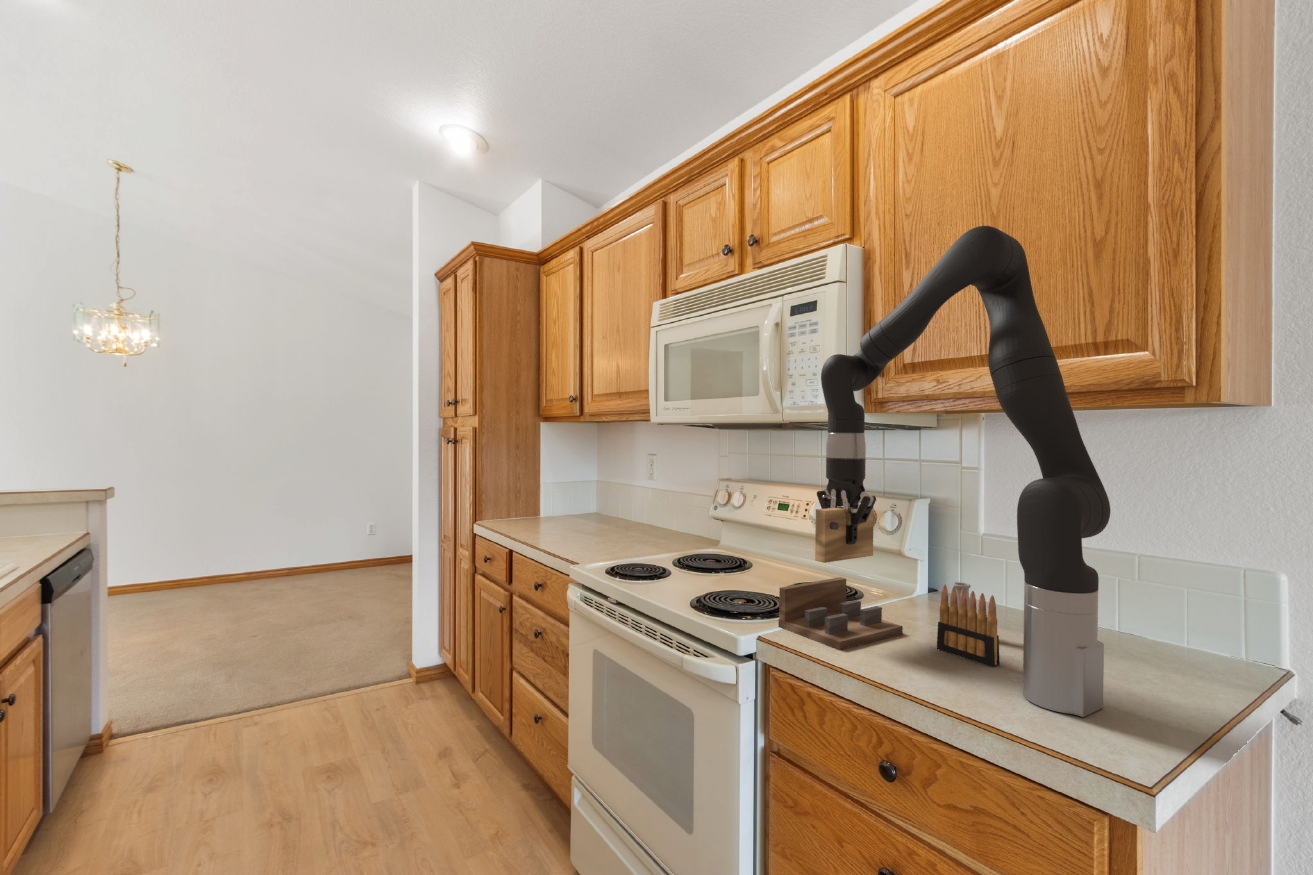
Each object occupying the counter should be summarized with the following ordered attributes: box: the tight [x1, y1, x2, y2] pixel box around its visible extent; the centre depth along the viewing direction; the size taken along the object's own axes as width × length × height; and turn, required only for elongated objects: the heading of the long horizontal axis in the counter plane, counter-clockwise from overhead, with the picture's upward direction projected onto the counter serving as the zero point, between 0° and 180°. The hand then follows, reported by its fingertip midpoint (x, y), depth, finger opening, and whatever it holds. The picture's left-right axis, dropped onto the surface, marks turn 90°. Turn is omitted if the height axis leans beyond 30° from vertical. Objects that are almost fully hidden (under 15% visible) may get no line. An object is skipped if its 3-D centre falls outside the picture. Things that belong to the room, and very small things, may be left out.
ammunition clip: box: [936, 584, 1001, 668], centre depth 111 cm, size 11×2×12 cm, turn 33°
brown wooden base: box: [777, 576, 904, 651], centre depth 126 cm, size 16×18×8 cm
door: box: [814, 506, 875, 564], centre depth 124 cm, size 3×14×10 cm, turn 122°
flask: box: [952, 581, 972, 611], centre depth 124 cm, size 7×7×10 cm
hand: (844, 542), depth 125 cm, fingers closed on door, 2 cm apart
